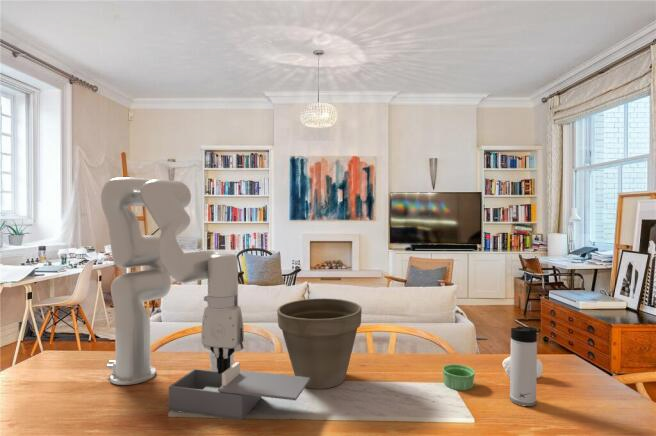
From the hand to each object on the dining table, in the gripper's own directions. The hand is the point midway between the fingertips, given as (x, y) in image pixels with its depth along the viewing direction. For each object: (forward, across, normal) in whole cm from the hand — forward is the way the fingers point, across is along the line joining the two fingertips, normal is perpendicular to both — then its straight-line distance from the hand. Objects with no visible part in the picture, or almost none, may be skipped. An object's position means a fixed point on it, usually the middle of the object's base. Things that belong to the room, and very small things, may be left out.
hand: (223, 371), depth 107 cm
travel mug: (+9, +76, +21) cm, 79 cm away
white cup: (+9, -11, +20) cm, 24 cm away
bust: (+9, +79, +39) cm, 88 cm away
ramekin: (+9, +60, +28) cm, 67 cm away
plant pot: (+9, +20, +22) cm, 31 cm away
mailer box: (+9, -2, 0) cm, 9 cm away
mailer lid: (+2, +12, 0) cm, 12 cm away
